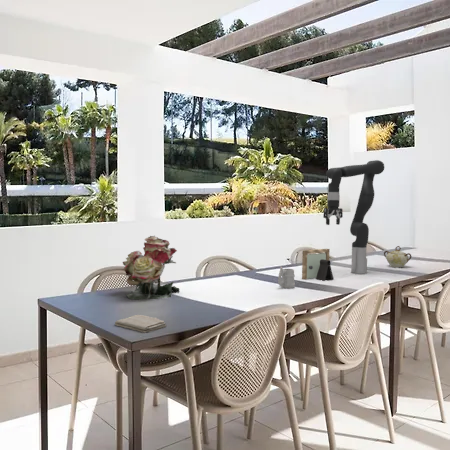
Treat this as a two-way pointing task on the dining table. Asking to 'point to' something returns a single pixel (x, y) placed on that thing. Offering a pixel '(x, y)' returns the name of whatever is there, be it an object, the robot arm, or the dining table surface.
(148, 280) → the rose bouquet
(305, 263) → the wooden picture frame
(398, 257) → the sugar bowl
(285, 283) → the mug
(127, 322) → the washcloth
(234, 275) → the dining table surface
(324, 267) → the phone stand
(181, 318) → the dining table surface
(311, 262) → the door
